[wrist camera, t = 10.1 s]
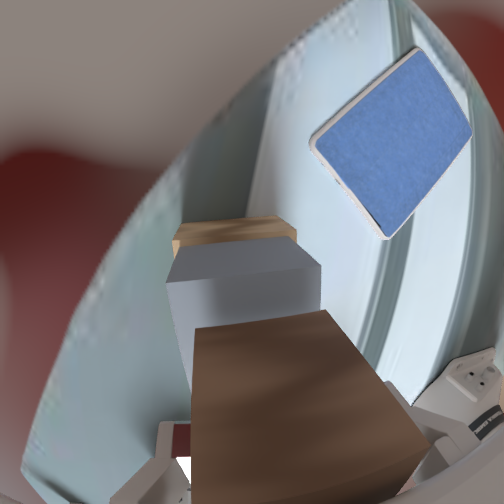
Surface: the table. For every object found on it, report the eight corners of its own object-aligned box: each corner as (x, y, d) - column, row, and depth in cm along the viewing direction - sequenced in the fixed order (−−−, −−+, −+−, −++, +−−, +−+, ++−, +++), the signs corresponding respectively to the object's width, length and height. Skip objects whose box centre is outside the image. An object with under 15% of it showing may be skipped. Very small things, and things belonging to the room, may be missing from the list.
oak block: (276, 215, 24) (296, 229, 19) (278, 300, 27) (296, 334, 21) (181, 223, 23) (171, 240, 18) (192, 309, 26) (189, 346, 20)
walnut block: (325, 309, 11) (430, 444, 4) (319, 398, 12) (377, 516, 5) (195, 328, 10) (191, 507, 3) (215, 416, 12) (229, 551, 5)
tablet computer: (380, 242, 27) (387, 245, 26) (301, 144, 23) (306, 143, 22) (468, 134, 25) (476, 134, 24) (413, 47, 21) (420, 43, 20)
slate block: (288, 235, 19) (321, 265, 13) (289, 328, 21) (315, 380, 15) (179, 246, 18) (165, 283, 12) (195, 340, 20) (192, 397, 14)
